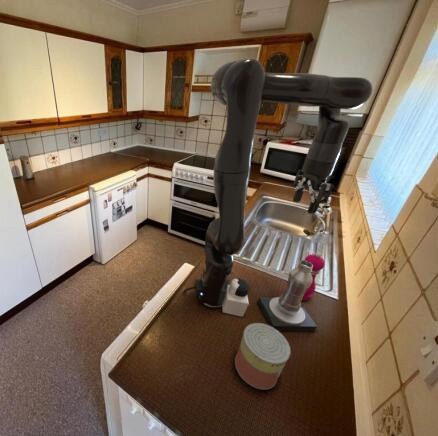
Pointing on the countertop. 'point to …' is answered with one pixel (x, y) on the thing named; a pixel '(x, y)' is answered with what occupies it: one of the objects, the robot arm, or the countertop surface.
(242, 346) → the canned food
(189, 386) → the countertop surface
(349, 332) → the countertop surface
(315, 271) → the pepper mill
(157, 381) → the countertop surface
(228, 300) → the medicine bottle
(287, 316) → the scale
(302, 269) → the plastic bottle
